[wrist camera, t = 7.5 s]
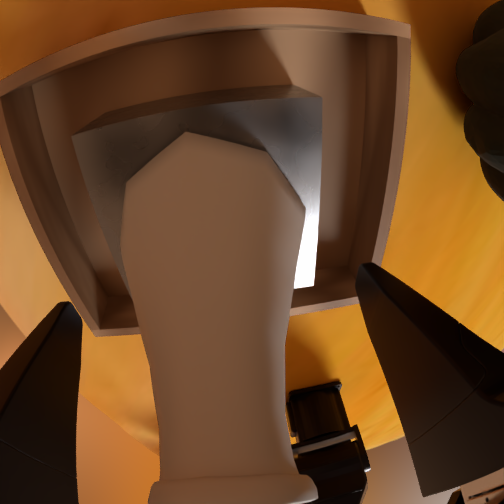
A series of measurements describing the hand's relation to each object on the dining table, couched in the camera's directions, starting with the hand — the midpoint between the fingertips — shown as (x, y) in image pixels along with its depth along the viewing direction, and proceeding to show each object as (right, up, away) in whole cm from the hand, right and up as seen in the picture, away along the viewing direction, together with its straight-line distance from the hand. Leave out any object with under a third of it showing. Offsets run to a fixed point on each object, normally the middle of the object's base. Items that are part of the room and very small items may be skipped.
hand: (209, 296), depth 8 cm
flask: (-1, +3, +3) cm, 4 cm away
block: (-1, +5, +6) cm, 8 cm away
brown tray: (-1, +5, +7) cm, 9 cm away
